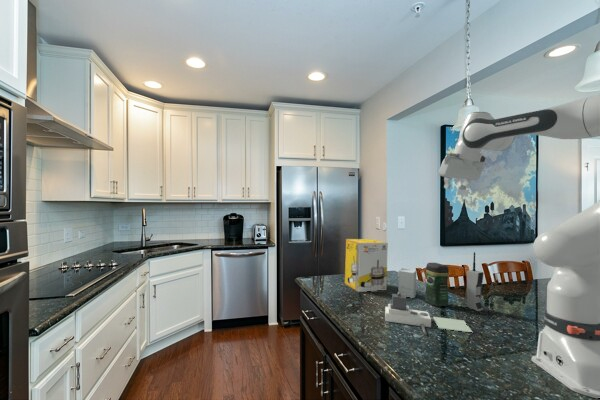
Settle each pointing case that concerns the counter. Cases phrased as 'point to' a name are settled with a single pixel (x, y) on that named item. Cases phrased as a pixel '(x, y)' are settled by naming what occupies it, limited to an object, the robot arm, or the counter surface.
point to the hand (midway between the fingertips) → (454, 189)
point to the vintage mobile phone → (474, 288)
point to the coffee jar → (437, 284)
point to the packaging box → (366, 264)
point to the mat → (452, 324)
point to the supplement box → (407, 282)
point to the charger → (399, 301)
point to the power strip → (408, 317)
